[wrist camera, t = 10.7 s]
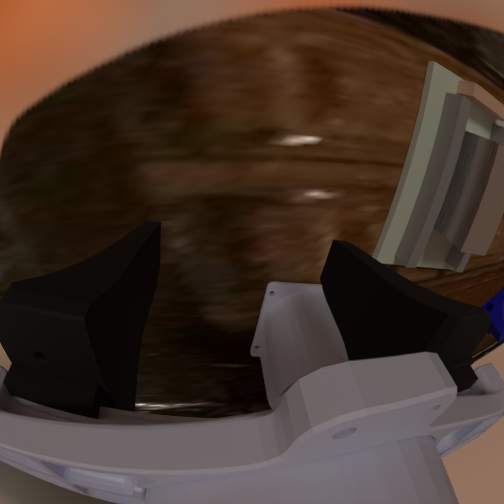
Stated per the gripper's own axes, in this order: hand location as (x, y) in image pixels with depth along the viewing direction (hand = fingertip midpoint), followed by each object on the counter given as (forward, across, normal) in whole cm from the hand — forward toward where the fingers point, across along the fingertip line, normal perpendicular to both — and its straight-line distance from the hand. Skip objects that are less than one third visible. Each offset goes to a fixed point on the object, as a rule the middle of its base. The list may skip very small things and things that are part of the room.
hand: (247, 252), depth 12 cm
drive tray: (+9, -19, -4) cm, 22 cm away
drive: (+9, -19, -4) cm, 21 cm away
